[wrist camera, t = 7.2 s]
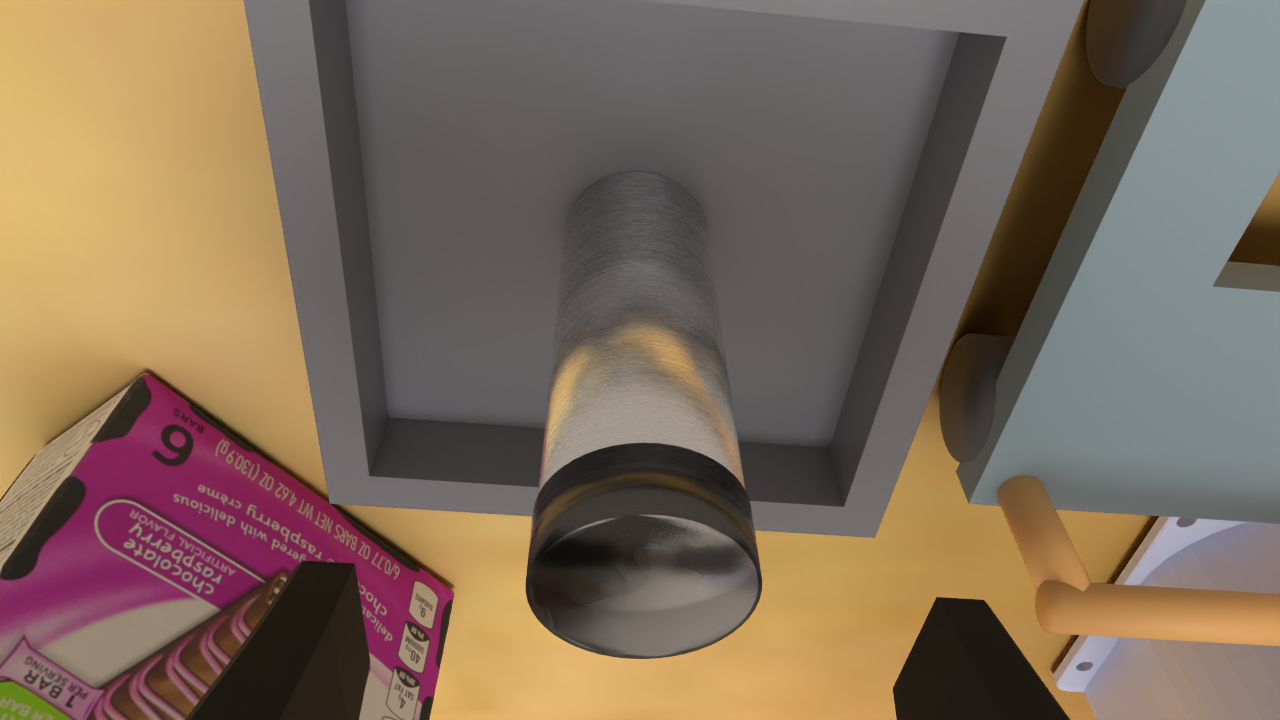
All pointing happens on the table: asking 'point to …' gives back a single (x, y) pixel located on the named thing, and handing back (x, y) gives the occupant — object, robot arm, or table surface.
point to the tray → (645, 142)
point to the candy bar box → (180, 569)
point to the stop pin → (640, 436)
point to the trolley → (1145, 329)
